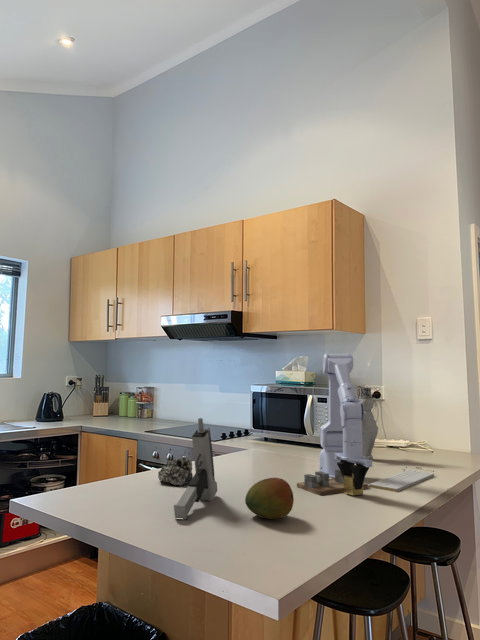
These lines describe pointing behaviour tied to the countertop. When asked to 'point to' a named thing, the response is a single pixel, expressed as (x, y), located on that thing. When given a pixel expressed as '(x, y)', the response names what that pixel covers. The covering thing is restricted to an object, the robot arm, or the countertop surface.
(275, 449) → the countertop surface
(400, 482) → the baseboard molding
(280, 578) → the countertop surface
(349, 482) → the block
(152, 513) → the countertop surface
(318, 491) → the shaft base
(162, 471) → the rock
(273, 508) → the fruit
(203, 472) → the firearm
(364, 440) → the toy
